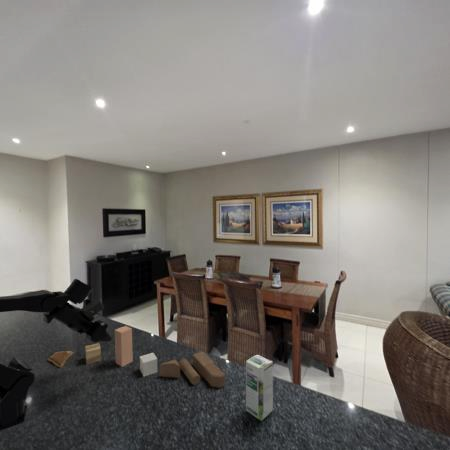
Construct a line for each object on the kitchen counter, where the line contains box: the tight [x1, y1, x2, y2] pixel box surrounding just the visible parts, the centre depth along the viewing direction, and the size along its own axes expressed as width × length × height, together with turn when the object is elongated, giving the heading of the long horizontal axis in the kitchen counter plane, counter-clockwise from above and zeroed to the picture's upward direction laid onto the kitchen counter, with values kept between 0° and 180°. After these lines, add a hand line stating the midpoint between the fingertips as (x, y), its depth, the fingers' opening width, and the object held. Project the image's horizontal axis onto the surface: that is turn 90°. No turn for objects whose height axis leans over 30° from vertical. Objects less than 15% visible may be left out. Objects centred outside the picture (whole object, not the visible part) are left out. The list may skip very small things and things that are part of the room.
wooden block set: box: [159, 350, 226, 389], centre depth 86 cm, size 17×6×18 cm
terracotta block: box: [114, 325, 133, 368], centre depth 97 cm, size 4×4×13 cm
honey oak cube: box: [84, 342, 102, 365], centre depth 99 cm, size 5×5×5 cm
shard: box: [47, 350, 73, 369], centre depth 98 cm, size 11×8×2 cm
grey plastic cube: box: [139, 352, 159, 377], centre depth 91 cm, size 5×5×5 cm
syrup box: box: [245, 354, 274, 422], centre depth 71 cm, size 6×6×14 cm
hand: (104, 336), depth 91 cm, fingers open, 9 cm apart
